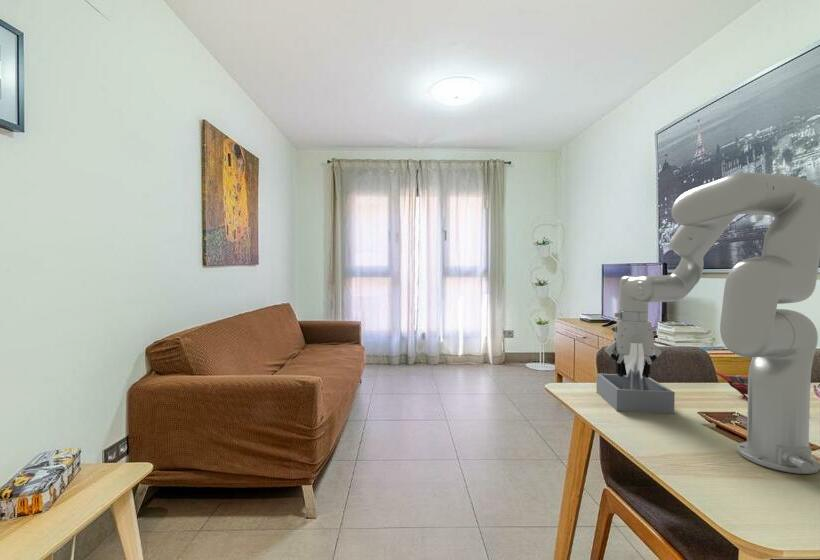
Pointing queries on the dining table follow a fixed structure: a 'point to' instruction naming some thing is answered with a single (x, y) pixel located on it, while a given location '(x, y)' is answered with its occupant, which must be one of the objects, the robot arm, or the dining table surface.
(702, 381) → the dining table surface
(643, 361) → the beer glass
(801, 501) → the dining table surface
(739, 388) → the decorative bird figurine
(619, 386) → the box
